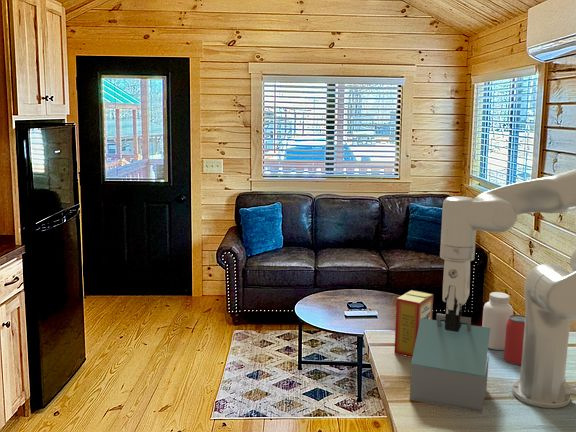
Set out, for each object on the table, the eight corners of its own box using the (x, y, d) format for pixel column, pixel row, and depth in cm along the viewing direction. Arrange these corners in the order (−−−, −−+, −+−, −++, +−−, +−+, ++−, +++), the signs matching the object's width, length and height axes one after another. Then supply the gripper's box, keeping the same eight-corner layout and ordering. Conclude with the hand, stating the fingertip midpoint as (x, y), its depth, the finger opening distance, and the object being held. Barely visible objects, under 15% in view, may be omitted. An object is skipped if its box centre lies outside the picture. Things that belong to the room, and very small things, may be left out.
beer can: (504, 364, 160) (508, 321, 158) (502, 354, 166) (505, 312, 164) (531, 367, 158) (535, 323, 156) (528, 357, 165) (531, 315, 162)
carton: (486, 390, 145) (488, 356, 144) (481, 413, 134) (484, 377, 133) (419, 378, 151) (421, 345, 150) (409, 399, 140) (411, 364, 139)
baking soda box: (416, 358, 163) (419, 301, 160) (394, 352, 167) (396, 297, 164) (430, 347, 171) (433, 293, 168) (409, 342, 174) (411, 288, 171)
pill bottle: (512, 351, 168) (516, 300, 165) (482, 349, 170) (485, 298, 167) (508, 341, 176) (512, 291, 173) (479, 338, 177) (482, 289, 174)
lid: (490, 329, 140) (490, 317, 137) (484, 376, 133) (484, 365, 129) (420, 319, 146) (419, 307, 143) (411, 364, 139) (409, 353, 135)
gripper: (470, 261, 128) (464, 343, 132) (478, 245, 142) (473, 320, 146) (434, 257, 131) (429, 338, 135) (446, 242, 145) (442, 316, 149)
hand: (452, 328), depth 140 cm, fingers closed
